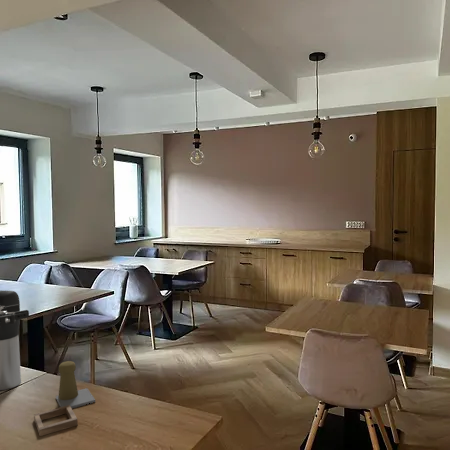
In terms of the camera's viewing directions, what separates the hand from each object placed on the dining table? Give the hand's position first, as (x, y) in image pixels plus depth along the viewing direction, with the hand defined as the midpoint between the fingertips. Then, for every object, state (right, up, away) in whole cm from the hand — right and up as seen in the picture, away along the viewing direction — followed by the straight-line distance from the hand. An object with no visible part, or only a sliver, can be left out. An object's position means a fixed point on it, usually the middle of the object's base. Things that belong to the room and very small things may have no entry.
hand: (23, 310), depth 127 cm
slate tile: (+12, -31, +9) cm, 34 cm away
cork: (+9, -30, +11) cm, 33 cm away
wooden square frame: (+11, -31, -5) cm, 34 cm away
